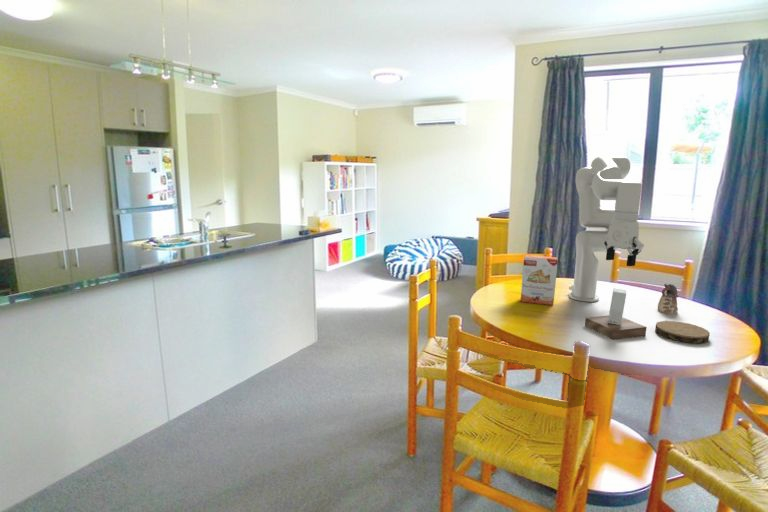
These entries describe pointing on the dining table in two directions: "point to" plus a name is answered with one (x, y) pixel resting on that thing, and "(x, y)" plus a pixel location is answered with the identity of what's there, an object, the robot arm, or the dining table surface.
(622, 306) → the skincare box
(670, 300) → the figurine
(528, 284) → the cracker box
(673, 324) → the wood slice coaster
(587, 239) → the robot arm
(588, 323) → the walnut base
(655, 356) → the dining table surface
